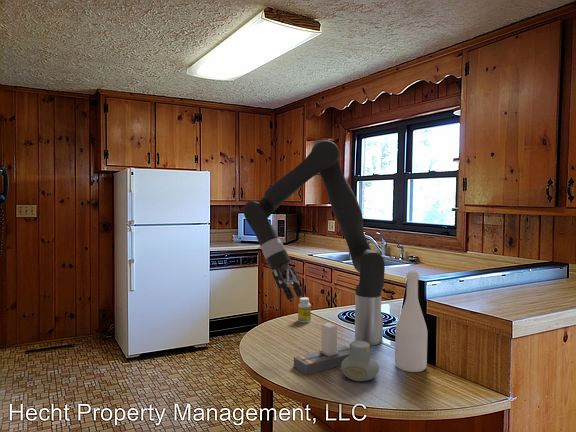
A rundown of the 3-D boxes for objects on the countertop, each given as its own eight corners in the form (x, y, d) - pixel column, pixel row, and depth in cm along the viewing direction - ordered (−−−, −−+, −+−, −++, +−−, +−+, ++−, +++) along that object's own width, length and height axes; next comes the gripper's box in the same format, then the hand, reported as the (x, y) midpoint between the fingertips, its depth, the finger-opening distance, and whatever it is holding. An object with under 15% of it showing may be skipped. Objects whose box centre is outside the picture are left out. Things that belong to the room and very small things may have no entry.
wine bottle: (427, 363, 138) (429, 269, 136) (425, 375, 129) (428, 275, 127) (396, 359, 141) (398, 267, 140) (393, 370, 133) (395, 273, 131)
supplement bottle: (305, 318, 185) (306, 296, 185) (313, 321, 181) (313, 298, 180) (295, 320, 183) (295, 297, 182) (302, 323, 178) (303, 300, 177)
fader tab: (329, 349, 141) (329, 321, 140) (338, 354, 137) (339, 326, 136) (319, 351, 139) (319, 323, 138) (328, 356, 135) (329, 328, 134)
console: (344, 353, 146) (344, 344, 145) (357, 361, 140) (358, 351, 140) (293, 366, 135) (293, 356, 135) (306, 374, 129) (306, 364, 129)
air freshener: (380, 375, 129) (381, 342, 129) (375, 386, 122) (375, 351, 121) (345, 368, 134) (345, 337, 133) (337, 379, 126) (337, 346, 126)
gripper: (275, 249, 141) (297, 294, 137) (292, 248, 154) (312, 290, 150) (257, 259, 143) (278, 305, 140) (275, 258, 157) (294, 299, 153)
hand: (296, 297), depth 145 cm, fingers open, 8 cm apart
